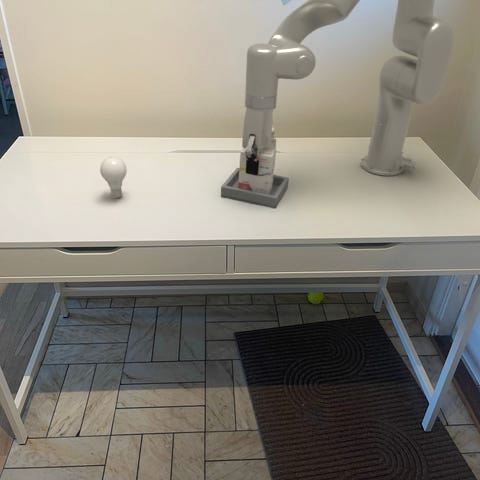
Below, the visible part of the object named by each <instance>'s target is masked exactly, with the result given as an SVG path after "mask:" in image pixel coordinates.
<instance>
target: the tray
mask: <svg viewBox="0 0 480 480" xmlns="http://www.w3.org/2000/svg"><path fill="white" fill-rule="evenodd" d="M239 168H240V167H237V168H235V169H234V171H233V172H232V173H231V174H230V175H229V177H228V178H227V179H226V180H225V182H224V183H223V184H222V185H221V186H220V197H221V198H224V199H229V200H234V201H239V202H243V203H249V204H252V205H258V206H262V207H267V208H269V209H270V208H271V209H277V207H278V205H279V204H280V202H281V201H282V199H283V197H284V195H285V194H286V192H287V190H288V189H289V182H290V177H287V176H282V175H276V174H274V176H273V186H272V190H271V192H270V195H268V194H263V193H258V192H254V191H249V190H244V189H239V188H238V185H239Z"/></svg>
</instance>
